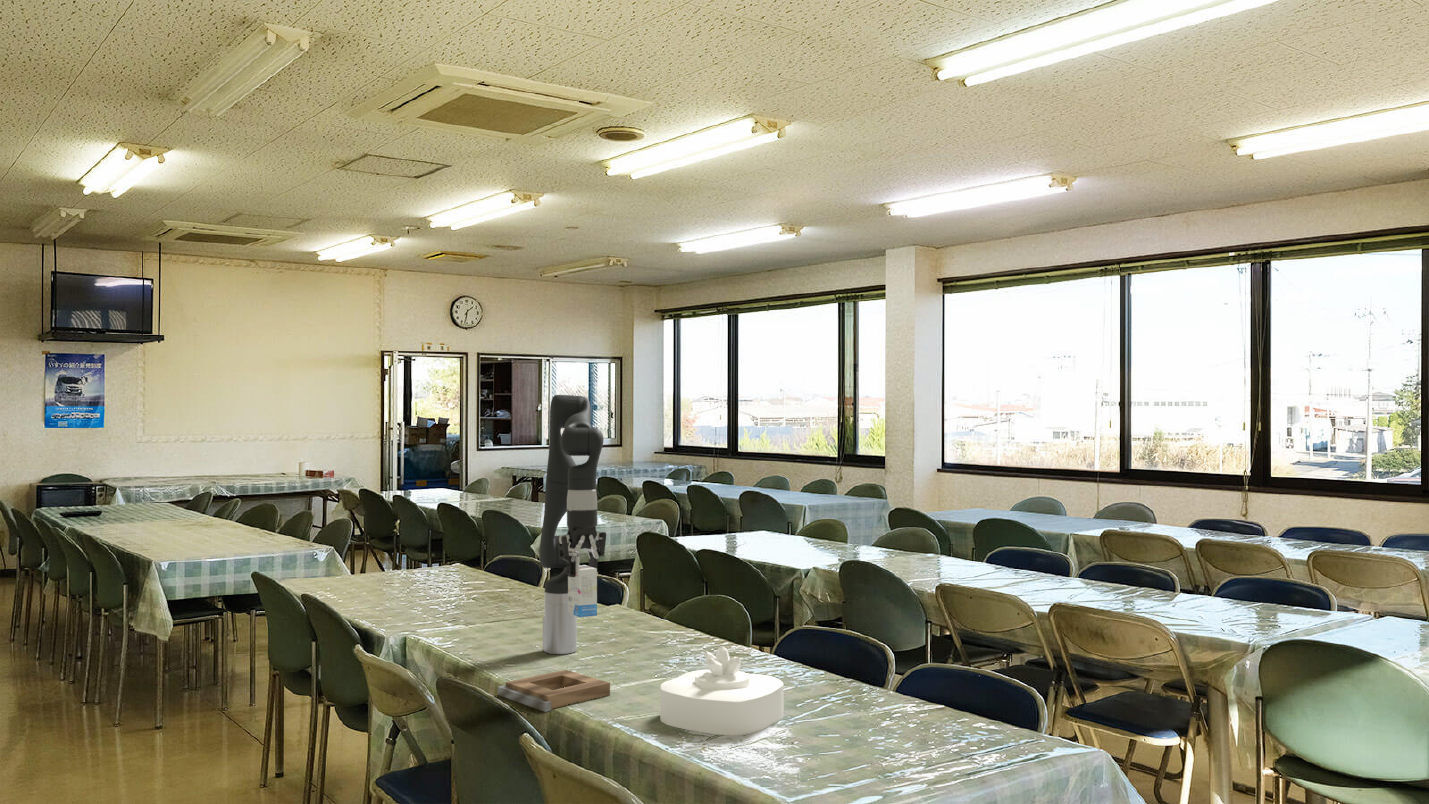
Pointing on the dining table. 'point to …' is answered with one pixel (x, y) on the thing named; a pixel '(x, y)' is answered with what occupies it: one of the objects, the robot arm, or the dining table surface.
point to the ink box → (583, 591)
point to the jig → (545, 699)
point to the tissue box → (721, 698)
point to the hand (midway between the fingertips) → (582, 575)
